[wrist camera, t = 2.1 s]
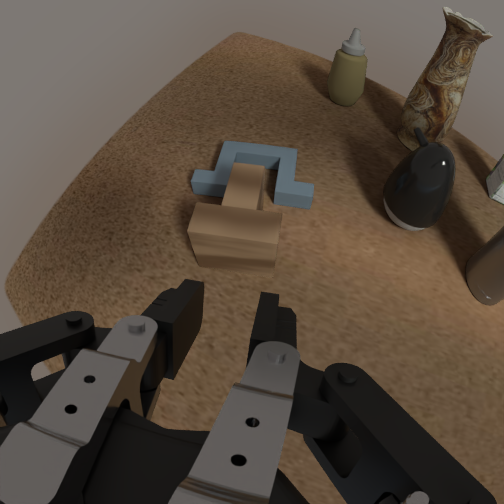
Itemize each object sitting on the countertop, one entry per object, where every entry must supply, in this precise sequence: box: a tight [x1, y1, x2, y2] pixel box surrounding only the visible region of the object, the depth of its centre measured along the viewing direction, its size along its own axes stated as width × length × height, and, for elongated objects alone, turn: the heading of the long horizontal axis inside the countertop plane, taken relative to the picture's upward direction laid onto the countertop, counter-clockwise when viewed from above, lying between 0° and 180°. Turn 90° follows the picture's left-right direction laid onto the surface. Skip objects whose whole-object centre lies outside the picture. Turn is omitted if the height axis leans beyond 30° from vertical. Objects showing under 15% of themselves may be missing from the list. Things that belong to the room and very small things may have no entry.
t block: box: [187, 162, 282, 278], centre depth 40 cm, size 11×10×9 cm
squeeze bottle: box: [327, 28, 367, 106], centre depth 53 cm, size 8×8×18 cm
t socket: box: [191, 141, 314, 209], centre depth 48 cm, size 10×18×3 cm, turn 80°
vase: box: [397, 7, 493, 151], centre depth 42 cm, size 10×11×30 cm
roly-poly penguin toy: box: [383, 127, 455, 231], centre depth 40 cm, size 10×10×15 cm
